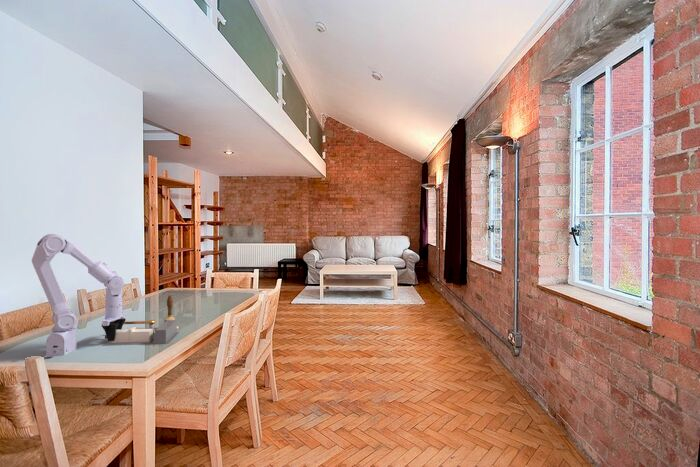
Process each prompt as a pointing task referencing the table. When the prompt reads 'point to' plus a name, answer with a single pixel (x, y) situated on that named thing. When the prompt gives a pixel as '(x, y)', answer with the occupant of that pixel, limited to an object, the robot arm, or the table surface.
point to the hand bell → (169, 309)
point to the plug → (133, 335)
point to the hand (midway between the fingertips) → (113, 338)
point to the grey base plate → (157, 334)
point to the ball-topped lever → (140, 322)
